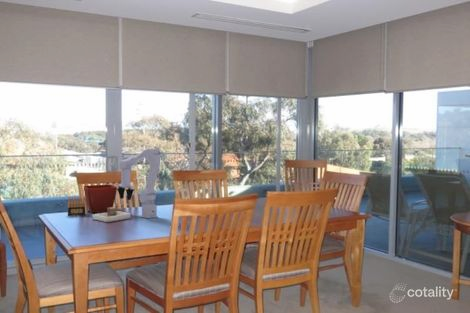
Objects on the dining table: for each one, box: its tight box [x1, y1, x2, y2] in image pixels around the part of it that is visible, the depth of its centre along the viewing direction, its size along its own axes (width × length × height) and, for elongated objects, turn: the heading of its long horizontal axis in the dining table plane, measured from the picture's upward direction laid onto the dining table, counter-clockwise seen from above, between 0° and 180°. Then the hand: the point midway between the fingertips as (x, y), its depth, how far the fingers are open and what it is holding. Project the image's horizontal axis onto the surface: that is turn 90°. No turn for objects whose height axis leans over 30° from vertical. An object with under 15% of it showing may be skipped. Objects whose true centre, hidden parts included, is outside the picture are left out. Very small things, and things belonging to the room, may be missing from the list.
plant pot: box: [83, 184, 118, 213], centre depth 309 cm, size 19×19×17 cm
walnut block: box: [106, 206, 118, 217], centre depth 281 cm, size 4×4×6 cm
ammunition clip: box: [67, 195, 86, 216], centre depth 293 cm, size 11×2×12 cm, turn 110°
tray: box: [92, 210, 132, 223], centre depth 281 cm, size 14×18×3 cm
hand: (125, 199), depth 301 cm, fingers open, 7 cm apart
